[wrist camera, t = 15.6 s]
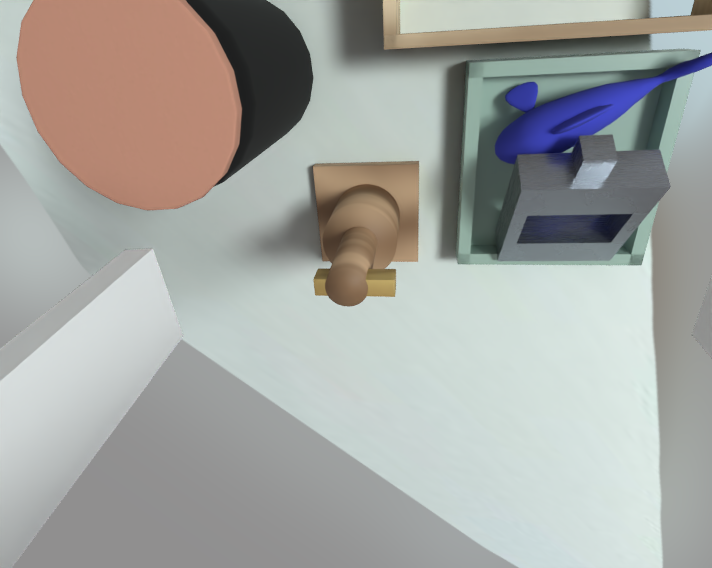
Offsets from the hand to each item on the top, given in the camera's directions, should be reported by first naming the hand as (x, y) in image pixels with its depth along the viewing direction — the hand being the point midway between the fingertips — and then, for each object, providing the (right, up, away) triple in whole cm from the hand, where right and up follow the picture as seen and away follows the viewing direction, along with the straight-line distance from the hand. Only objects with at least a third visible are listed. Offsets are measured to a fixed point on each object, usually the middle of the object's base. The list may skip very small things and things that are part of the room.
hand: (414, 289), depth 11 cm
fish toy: (+16, +14, +23) cm, 32 cm away
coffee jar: (-10, +17, +26) cm, 33 cm away
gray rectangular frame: (+15, +7, +24) cm, 29 cm away
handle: (0, +7, +30) cm, 31 cm away
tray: (+15, +10, +26) cm, 32 cm away
